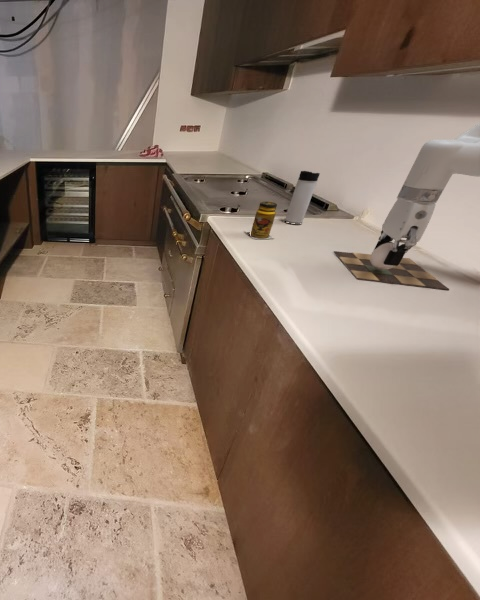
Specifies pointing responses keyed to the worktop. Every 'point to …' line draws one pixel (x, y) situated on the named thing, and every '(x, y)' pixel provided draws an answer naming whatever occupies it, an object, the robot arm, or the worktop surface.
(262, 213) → the condiment
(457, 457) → the worktop surface
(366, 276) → the checkerboard
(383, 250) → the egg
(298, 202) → the travel mug
